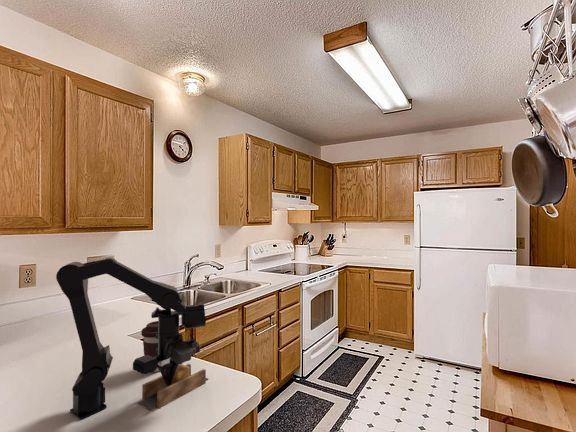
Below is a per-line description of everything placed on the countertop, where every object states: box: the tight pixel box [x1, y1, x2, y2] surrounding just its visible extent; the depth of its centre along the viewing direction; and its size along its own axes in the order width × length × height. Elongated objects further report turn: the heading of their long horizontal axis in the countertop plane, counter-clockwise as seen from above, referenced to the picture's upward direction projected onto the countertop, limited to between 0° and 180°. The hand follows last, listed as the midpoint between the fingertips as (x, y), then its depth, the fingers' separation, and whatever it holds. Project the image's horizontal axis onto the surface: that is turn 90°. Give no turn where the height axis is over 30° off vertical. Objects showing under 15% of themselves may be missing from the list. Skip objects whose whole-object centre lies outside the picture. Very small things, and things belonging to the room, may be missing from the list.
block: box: [171, 363, 190, 384], centre depth 96 cm, size 4×4×4 cm
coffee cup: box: [141, 320, 160, 373], centre depth 110 cm, size 10×10×15 cm
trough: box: [137, 363, 209, 411], centre depth 95 cm, size 20×8×4 cm, turn 146°
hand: (168, 385), depth 93 cm, fingers closed
